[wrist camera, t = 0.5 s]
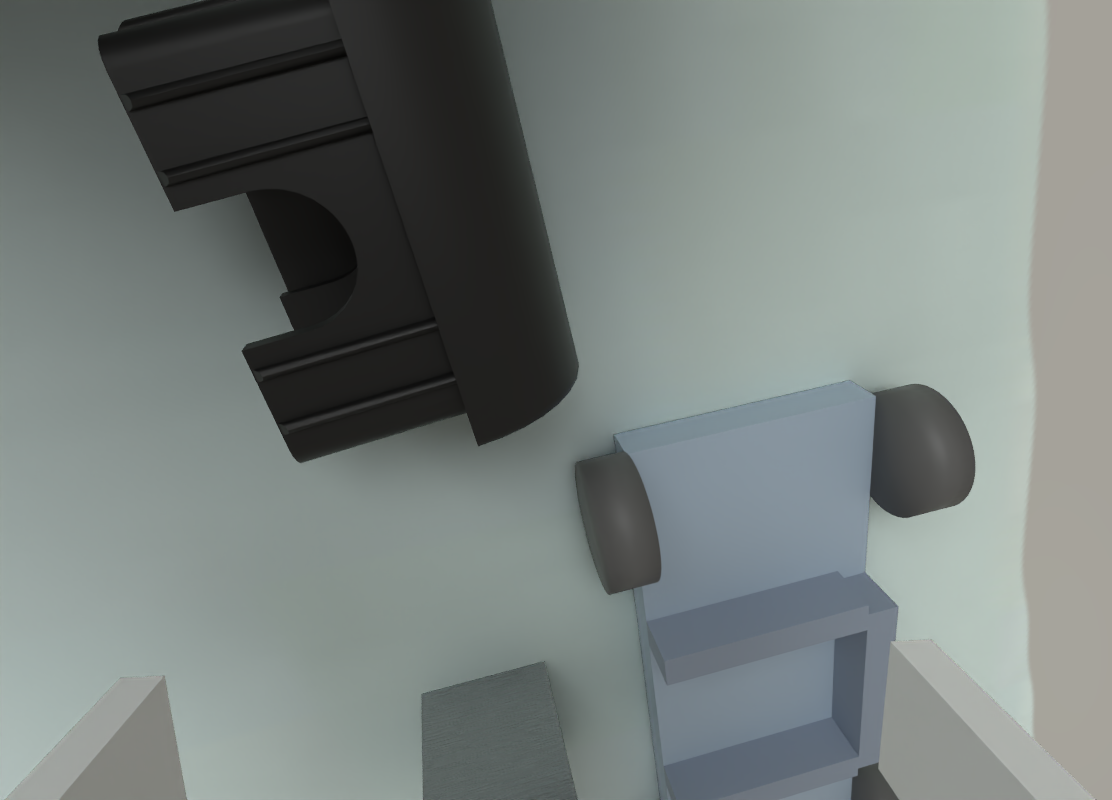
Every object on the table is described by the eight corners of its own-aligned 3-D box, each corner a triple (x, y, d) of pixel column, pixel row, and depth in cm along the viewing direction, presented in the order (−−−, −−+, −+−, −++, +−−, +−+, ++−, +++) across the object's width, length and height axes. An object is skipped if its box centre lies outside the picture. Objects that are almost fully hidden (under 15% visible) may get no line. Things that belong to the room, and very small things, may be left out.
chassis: (569, 439, 23) (601, 507, 19) (890, 366, 24) (983, 415, 20) (636, 863, 33) (667, 965, 29) (860, 794, 35) (917, 882, 31)
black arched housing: (552, 325, 21) (608, 411, 15) (336, 389, 21) (304, 505, 15) (460, -34, 17) (488, -113, 11) (185, 36, 16) (53, -8, 10)
